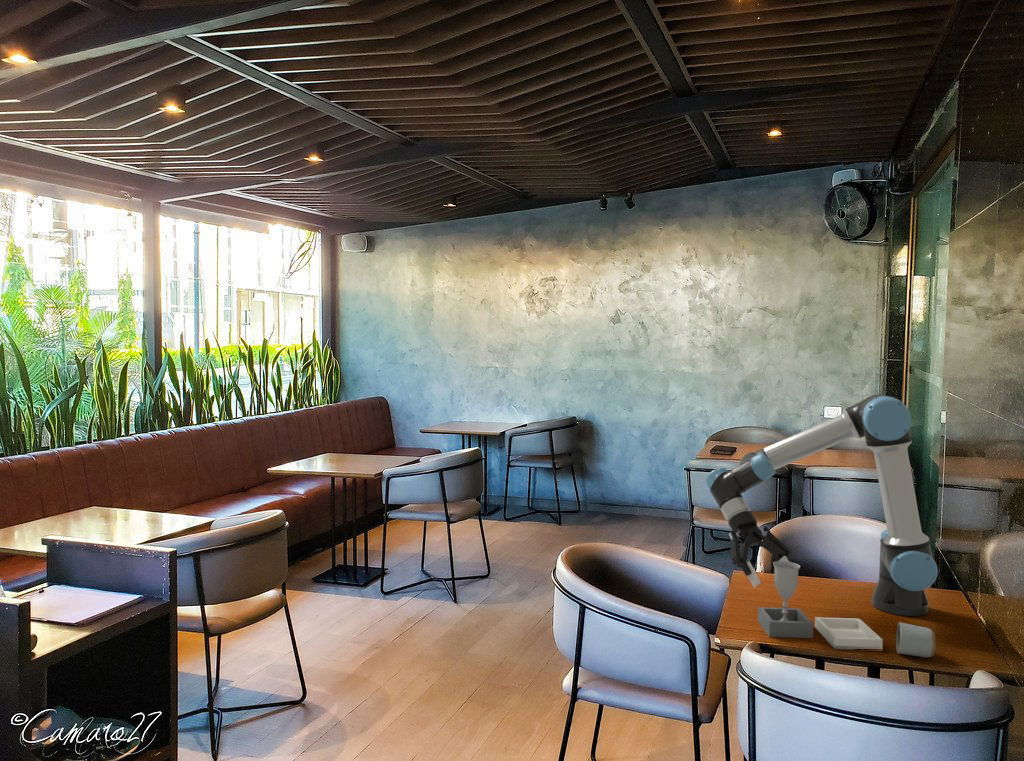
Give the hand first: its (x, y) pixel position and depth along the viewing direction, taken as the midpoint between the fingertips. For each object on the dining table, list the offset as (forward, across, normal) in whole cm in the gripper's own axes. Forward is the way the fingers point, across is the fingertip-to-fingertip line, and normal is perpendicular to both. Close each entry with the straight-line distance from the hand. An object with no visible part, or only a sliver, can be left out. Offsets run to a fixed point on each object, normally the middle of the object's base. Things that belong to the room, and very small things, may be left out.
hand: (776, 582), depth 210 cm
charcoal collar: (+11, -1, -7) cm, 13 cm away
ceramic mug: (+29, -19, +11) cm, 36 cm away
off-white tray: (+19, -11, +2) cm, 22 cm away
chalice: (+11, -1, -7) cm, 13 cm away
